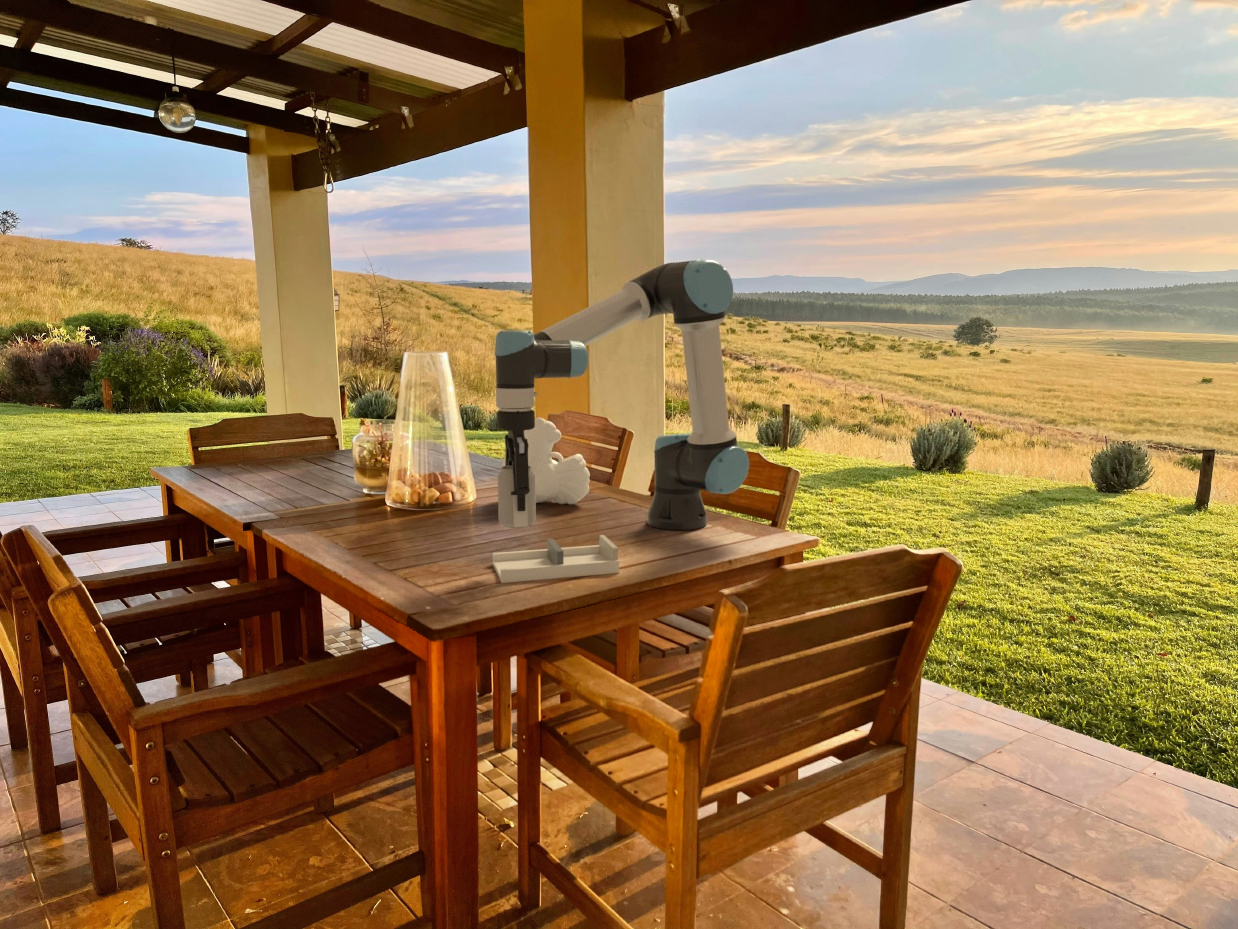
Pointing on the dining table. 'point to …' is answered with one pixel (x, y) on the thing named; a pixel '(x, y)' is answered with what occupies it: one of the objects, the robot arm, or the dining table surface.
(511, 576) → the tray
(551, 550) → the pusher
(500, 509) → the can
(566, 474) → the decorative rooster
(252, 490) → the dining table surface
